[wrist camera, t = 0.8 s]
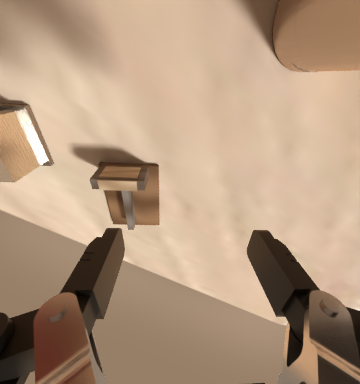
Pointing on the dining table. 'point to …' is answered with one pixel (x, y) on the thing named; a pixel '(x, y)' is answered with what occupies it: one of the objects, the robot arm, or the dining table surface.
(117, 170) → the rack
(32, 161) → the tan wood block
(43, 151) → the brown flat angled piece
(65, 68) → the dining table surface
